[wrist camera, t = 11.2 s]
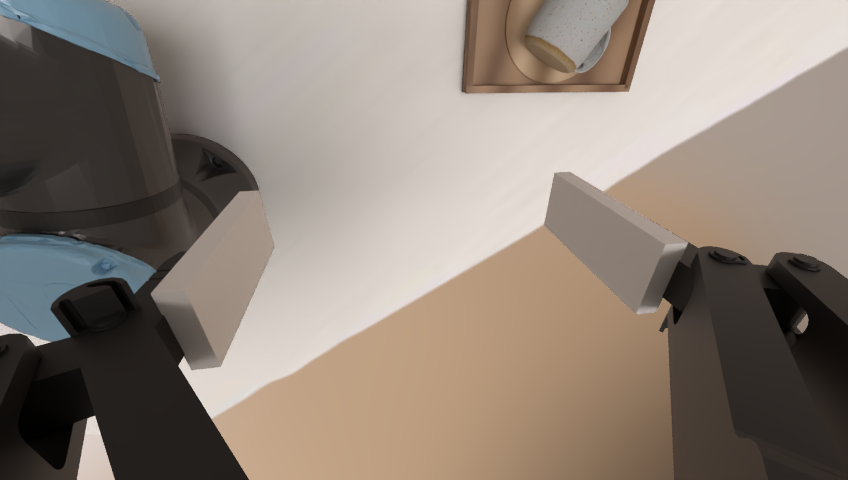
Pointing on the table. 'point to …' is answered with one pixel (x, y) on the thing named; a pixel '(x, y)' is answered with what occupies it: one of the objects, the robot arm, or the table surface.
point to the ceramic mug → (572, 32)
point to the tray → (523, 72)
